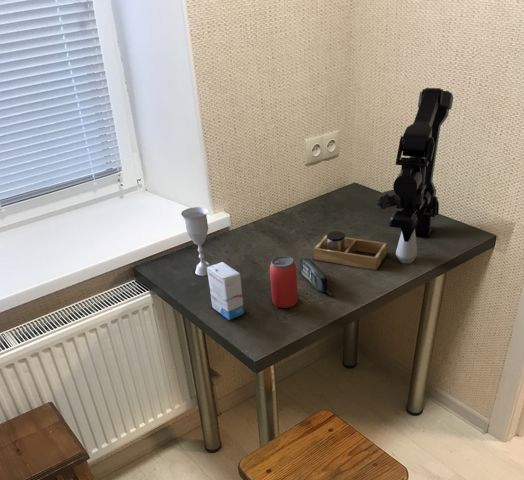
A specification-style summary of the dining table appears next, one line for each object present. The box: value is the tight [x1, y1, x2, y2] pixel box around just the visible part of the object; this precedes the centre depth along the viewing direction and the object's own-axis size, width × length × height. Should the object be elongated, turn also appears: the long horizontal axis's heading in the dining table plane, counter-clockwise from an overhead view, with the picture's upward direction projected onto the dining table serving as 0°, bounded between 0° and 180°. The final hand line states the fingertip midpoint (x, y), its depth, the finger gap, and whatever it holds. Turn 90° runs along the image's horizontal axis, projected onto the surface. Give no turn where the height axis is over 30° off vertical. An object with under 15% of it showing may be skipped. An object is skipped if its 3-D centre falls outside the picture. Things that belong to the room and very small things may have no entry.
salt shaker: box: [395, 229, 418, 264], centre depth 154 cm, size 6×6×13 cm
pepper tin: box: [326, 230, 346, 252], centre depth 162 cm, size 5×5×6 cm
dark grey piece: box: [299, 257, 333, 296], centre depth 150 cm, size 5×3×15 cm
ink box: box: [207, 261, 245, 321], centre depth 141 cm, size 9×5×12 cm, turn 35°
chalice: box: [180, 206, 211, 277], centre depth 156 cm, size 7×7×18 cm
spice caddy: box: [313, 233, 388, 271], centre depth 161 cm, size 10×18×4 cm, turn 63°
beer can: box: [269, 255, 299, 309], centre depth 142 cm, size 7×7×12 cm
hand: (408, 238), depth 153 cm, fingers open, 4 cm apart
